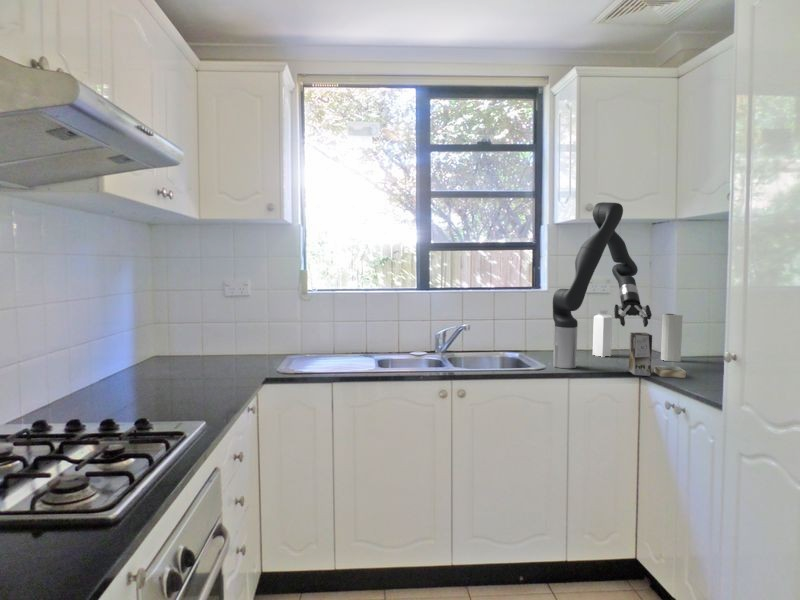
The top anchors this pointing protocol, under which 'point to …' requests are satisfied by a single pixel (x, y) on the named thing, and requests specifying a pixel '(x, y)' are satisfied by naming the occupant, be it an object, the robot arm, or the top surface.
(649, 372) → the coffee box
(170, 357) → the top surface
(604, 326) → the milk
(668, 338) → the paper towel roll
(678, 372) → the podium
